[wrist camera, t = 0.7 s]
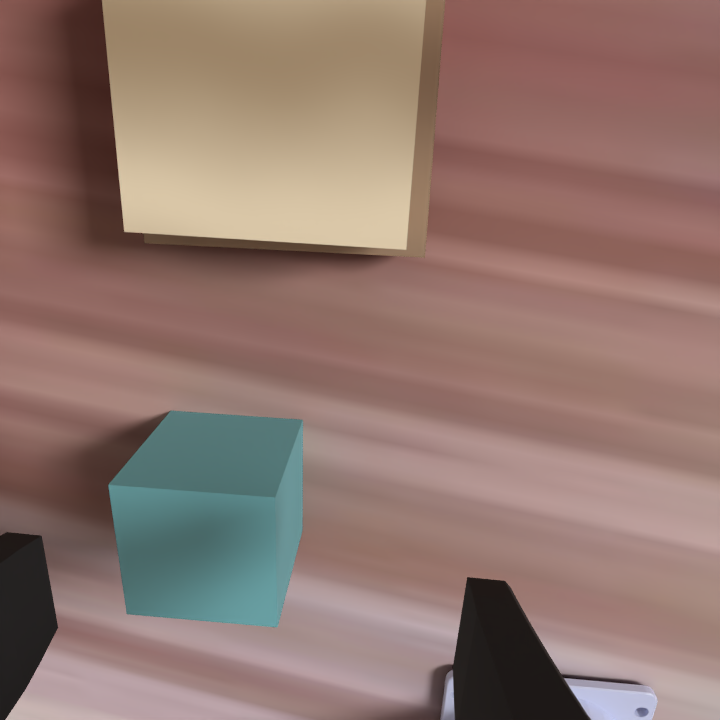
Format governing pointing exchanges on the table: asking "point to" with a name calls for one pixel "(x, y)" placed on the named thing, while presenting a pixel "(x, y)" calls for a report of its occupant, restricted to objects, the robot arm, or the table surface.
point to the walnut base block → (419, 173)
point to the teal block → (210, 518)
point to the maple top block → (266, 117)
